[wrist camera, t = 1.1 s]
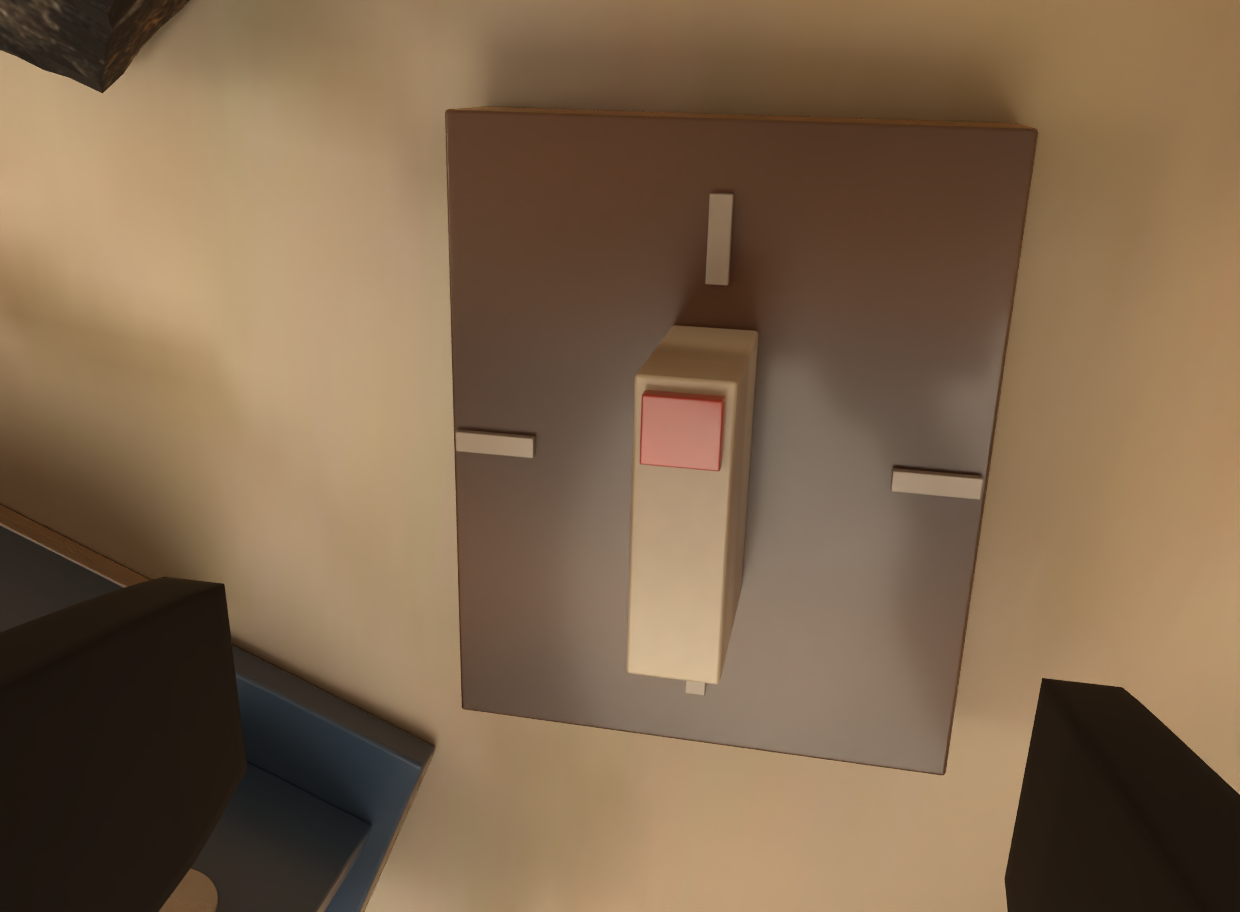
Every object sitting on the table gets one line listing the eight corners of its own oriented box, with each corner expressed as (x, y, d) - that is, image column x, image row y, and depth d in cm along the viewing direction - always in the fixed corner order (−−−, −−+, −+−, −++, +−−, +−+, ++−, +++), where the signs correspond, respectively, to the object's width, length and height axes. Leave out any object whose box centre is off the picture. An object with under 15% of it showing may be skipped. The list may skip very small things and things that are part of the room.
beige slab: (741, 591, 19) (718, 695, 16) (661, 582, 19) (622, 682, 16) (758, 330, 17) (736, 387, 14) (672, 324, 18) (630, 378, 14)
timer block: (938, 715, 21) (946, 782, 19) (493, 658, 23) (457, 714, 21) (1020, 123, 18) (1041, 129, 16) (483, 106, 19) (439, 109, 17)
